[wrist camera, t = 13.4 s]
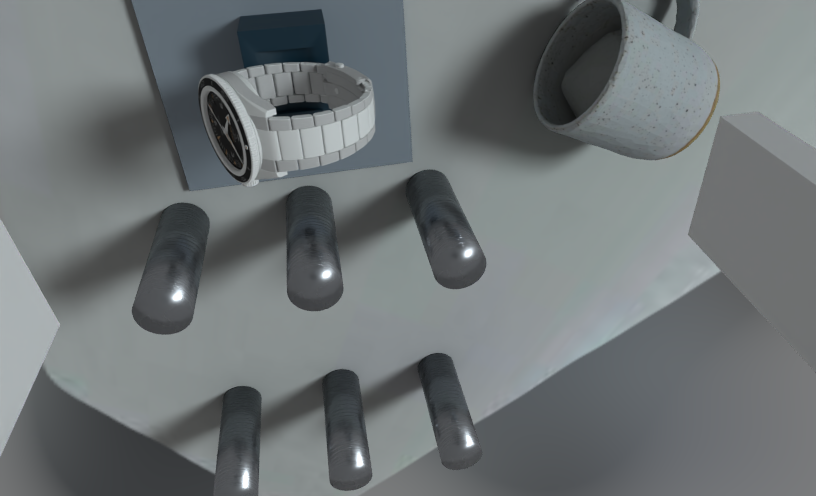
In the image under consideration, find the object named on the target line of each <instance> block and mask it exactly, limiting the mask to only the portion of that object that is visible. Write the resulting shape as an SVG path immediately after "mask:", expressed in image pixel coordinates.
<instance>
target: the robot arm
mask: <svg viewBox="0 0 816 496" xmlns="http://www.w3.org/2000/svg"><path fill="white" fill-rule="evenodd" d="M688 235H689V236H690V237H691V239H692V240H693V241H694V242H695V243H696V244H697V245H698V246H699V247H700V248H701V249H702V250H703V252H704V253H705V254H706V255H707V256H708V257H709V258H710V259H711V260H712V261H713V262H714V263H715V264H716V266H717V267H718V268H719V269H720V270H721V271H722V272H723V273H724V274H725V275H726V276H727V277H728V279H729V280H730V281H731V282H732V283H733V284H734V285H735V286H736V287H737V288H738V289H739V290H740V291H741V292H742V294H743V295H744V296H745V297H746V298H747V299H748V300H749V301H750V302H751V303H752V304H753V306H754V307H755V308H756V309H757V310H758V311H759V312H760V313H761V314H762V315H763V316H764V317H765V319H766V320H768V322H769V323H770V324H771V325H772V326H773V327H774V328H775V329H776V330H777V331H778V333H780V335H781V336H782V337H783V338H784V339H785V340H786V341H787V342H788V343H789V344H790V346H791V347H792V348H793V349H794V350H795V351H796V352H797V353H798V354H799V355H800V356H801V357H802V359H803V360H804V361H805V362H806V363H807V364H808V365H809V366H810V367H811V368H812V369H813V370H814V371H815V372H816V149H815V148H813V147H812V146H810V145H809V144H807V143H806V142H804V141H803V140H801V139H800V138H798V137H796V136H795V135H793V134H792V133H790V132H789V131H787V130H786V129H784V128H783V127H781V126H780V125H778V124H776V123H775V122H773V121H772V120H770V119H769V118H767V117H766V116H764V115H763V114H761V113H760V112H751V113H743V114H735V115H727V116H720V120H719V123H718V127H717V131H716V134H715V138H714V142H713V145H712V149H711V153H710V156H709V160H708V163H707V167H706V171H705V174H704V178H703V182H702V185H701V189H700V193H699V196H698V200H697V204H696V207H695V211H694V214H693V218H692V222H691V225H690V229H689V233H688ZM59 326H60V324H59V322H58V320H57V318H56V316H55V315H54V313H53V311H52V309H51V308H50V306H49V304H48V302H47V300H46V299H45V297H44V295H43V293H42V292H41V290H40V288H39V286H38V285H37V283H36V281H35V279H34V277H33V276H32V274H31V272H30V270H29V269H28V267H27V265H26V263H25V261H24V260H23V258H22V256H21V254H20V253H19V251H18V249H17V247H16V246H15V244H14V242H13V240H12V238H11V237H10V235H9V233H8V231H7V230H6V228H5V226H4V224H3V223H2V221H1V219H0V456H1V454H2V452H3V449H4V447H5V445H6V443H7V440H8V438H9V436H10V434H11V432H12V430H13V427H14V425H15V423H16V421H17V418H18V416H19V414H20V412H21V410H22V407H23V405H24V403H25V401H26V399H27V396H28V394H29V392H30V390H31V387H32V385H33V383H34V381H35V379H36V377H37V374H38V372H39V370H40V368H41V366H42V363H43V361H44V359H45V357H46V355H47V352H48V350H49V348H50V346H51V343H52V341H53V339H54V337H55V335H56V332H57V330H58V328H59Z"/></svg>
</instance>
